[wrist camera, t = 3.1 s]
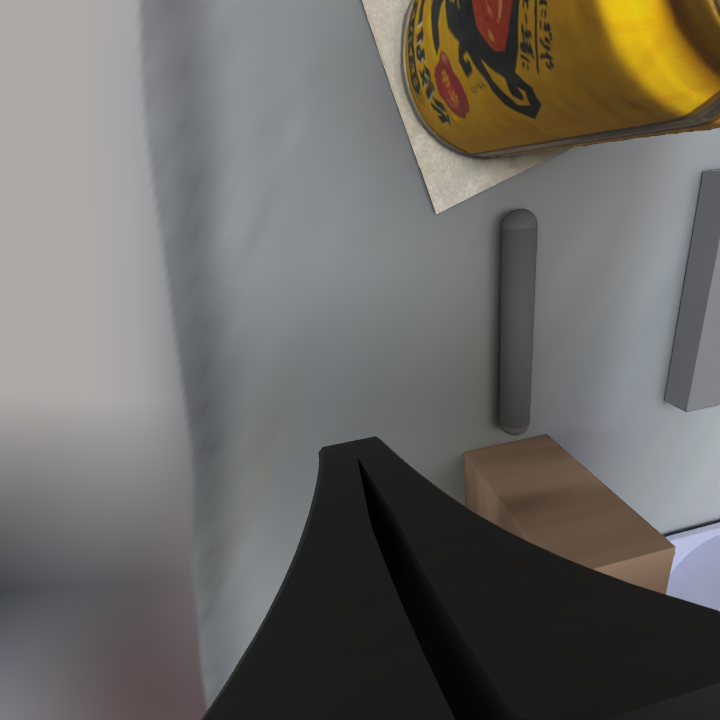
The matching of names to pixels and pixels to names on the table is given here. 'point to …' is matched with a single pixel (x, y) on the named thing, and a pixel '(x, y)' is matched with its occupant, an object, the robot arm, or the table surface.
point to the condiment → (541, 79)
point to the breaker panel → (699, 310)
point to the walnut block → (565, 510)
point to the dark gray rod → (517, 318)
